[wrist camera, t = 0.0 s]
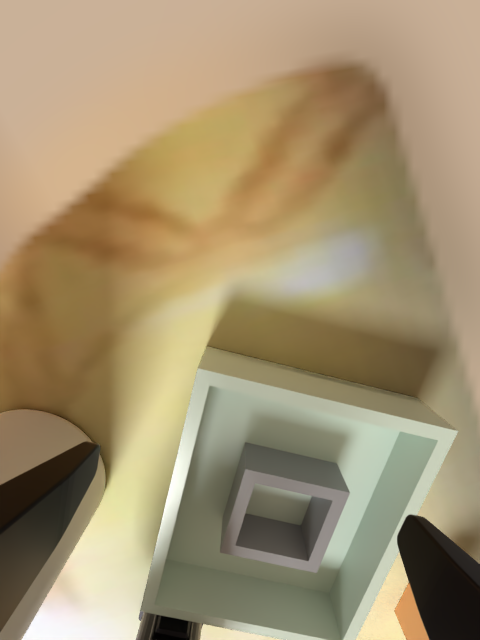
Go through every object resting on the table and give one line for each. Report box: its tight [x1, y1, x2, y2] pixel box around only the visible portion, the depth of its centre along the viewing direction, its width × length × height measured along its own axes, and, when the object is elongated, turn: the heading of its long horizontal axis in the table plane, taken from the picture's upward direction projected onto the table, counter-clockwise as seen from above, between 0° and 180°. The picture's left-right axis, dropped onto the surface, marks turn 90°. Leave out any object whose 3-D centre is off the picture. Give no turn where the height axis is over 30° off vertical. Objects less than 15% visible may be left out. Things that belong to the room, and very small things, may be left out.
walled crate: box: [140, 346, 458, 640], centre depth 23 cm, size 22×18×4 cm
